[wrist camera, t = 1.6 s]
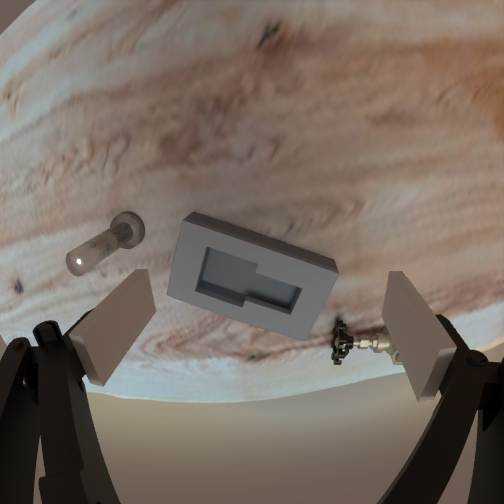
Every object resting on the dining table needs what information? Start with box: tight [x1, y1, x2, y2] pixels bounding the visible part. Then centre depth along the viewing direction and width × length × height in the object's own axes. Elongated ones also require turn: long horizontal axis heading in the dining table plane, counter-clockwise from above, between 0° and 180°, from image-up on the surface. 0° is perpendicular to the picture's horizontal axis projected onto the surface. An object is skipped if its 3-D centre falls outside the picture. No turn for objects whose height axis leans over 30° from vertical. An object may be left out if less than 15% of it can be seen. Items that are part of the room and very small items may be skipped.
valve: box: [331, 320, 403, 365], centre depth 39 cm, size 7×7×12 cm
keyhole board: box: [167, 212, 339, 341], centre depth 39 cm, size 20×11×4 cm, turn 72°
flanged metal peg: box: [66, 212, 145, 276], centre depth 35 cm, size 5×5×14 cm
